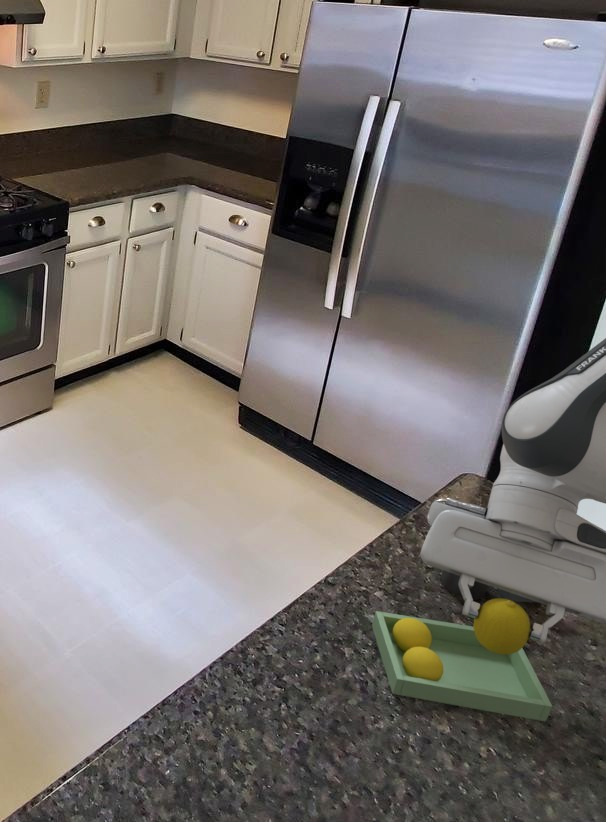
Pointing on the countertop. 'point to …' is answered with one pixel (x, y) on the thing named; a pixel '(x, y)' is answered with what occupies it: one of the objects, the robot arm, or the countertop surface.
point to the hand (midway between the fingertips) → (502, 628)
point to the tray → (464, 671)
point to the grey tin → (452, 586)
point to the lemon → (502, 626)
